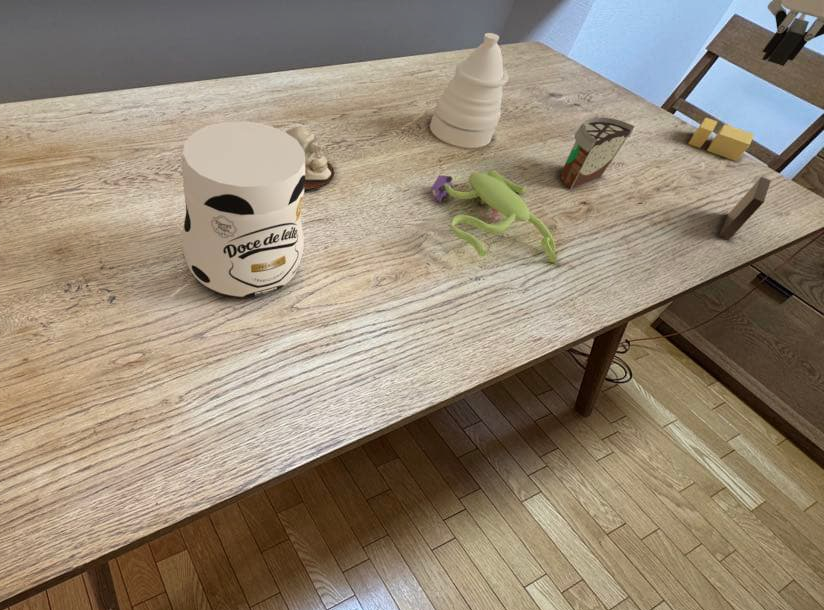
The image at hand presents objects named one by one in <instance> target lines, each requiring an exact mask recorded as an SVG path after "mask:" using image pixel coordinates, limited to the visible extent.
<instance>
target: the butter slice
mask: <svg viewBox="0 0 824 610" xmlns="http://www.w3.org/2000/svg"><path fill="white" fill-rule="evenodd" d="M717 124H718V121H717V120H715V119H711V118H708V117H705V118H704V119H703V120H702V122H701V123H700V124H699V126H698V127H697V129H696V130H695V131H694V133H693V134H692V136H691V138H690V140H689V142H688V143H687V144H688V145H691V146H693V147H695V148H699V149H701V147H702V146H703V145H704V144H705V142H706V141H707V140H708V139H709V137H710V136H711V135H712V133H713V131H714V129H715V128H716V126H717Z"/></svg>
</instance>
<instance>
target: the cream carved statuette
mask: <svg viewBox="0 0 824 610" xmlns="http://www.w3.org/2000/svg"><path fill="white" fill-rule="evenodd" d="M285 132H286V133H287V134H289V135H290V136H292V137H293V138H295V139H296V140H297V141H298V142H299V144H300V145H301V147H302V148H303V150H304V153H305V185H304V190H309V189H316V188H320V187H322V186H325V185H326V184H328V183H330V182H331V181H332V180H333V178H334V175H335V169H334V167H333V166H332V165H331V163H330V162H328V159H327V157H326V156H325V155H324V153H323V151H322V147H321V145H320V144H319V143H318V142H317V136H316V134H315V133H313V132H312V131H311V130H310V129H308V128H307V127H304V126H295V127H292V128H289V129H288V130H286V131H285Z"/></svg>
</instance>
